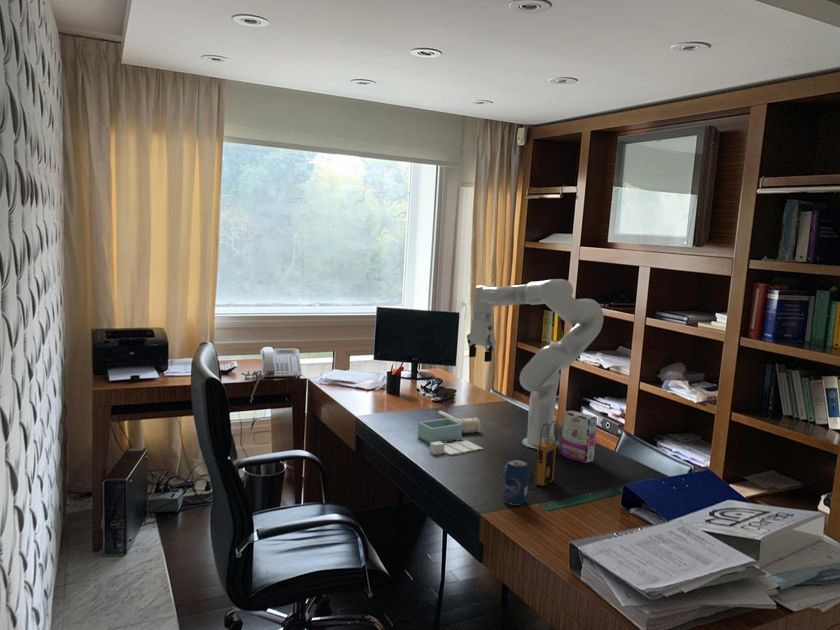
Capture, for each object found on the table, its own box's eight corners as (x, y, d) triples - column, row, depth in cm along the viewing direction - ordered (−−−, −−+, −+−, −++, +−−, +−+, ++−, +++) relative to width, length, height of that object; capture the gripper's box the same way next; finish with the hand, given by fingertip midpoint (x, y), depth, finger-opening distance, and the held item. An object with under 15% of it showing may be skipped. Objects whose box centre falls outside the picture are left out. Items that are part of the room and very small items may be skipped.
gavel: (427, 419, 273) (458, 436, 243) (428, 405, 273) (458, 420, 243) (449, 418, 277) (482, 434, 247) (449, 404, 276) (482, 418, 247)
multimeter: (531, 470, 210) (535, 412, 208) (558, 478, 204) (563, 418, 201) (508, 482, 199) (512, 420, 196) (536, 491, 192) (541, 427, 190)
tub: (461, 439, 239) (462, 424, 238) (430, 444, 231) (431, 428, 230) (447, 432, 246) (448, 417, 245) (417, 437, 238) (418, 422, 238)
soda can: (498, 502, 183) (500, 462, 181) (508, 495, 188) (511, 456, 187) (520, 509, 179) (523, 468, 177) (530, 501, 185) (533, 461, 183)
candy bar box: (594, 462, 220) (598, 416, 218) (586, 465, 217) (589, 419, 215) (568, 453, 229) (571, 409, 227) (559, 455, 226) (563, 411, 224)
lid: (482, 450, 228) (483, 441, 228) (439, 457, 218) (440, 448, 217) (466, 442, 236) (467, 433, 236) (424, 449, 226) (424, 439, 225)
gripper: (504, 319, 244) (501, 362, 246) (476, 313, 258) (473, 354, 260) (489, 319, 240) (486, 364, 242) (461, 314, 254) (459, 355, 256)
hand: (479, 359), depth 251 cm, fingers open, 9 cm apart
